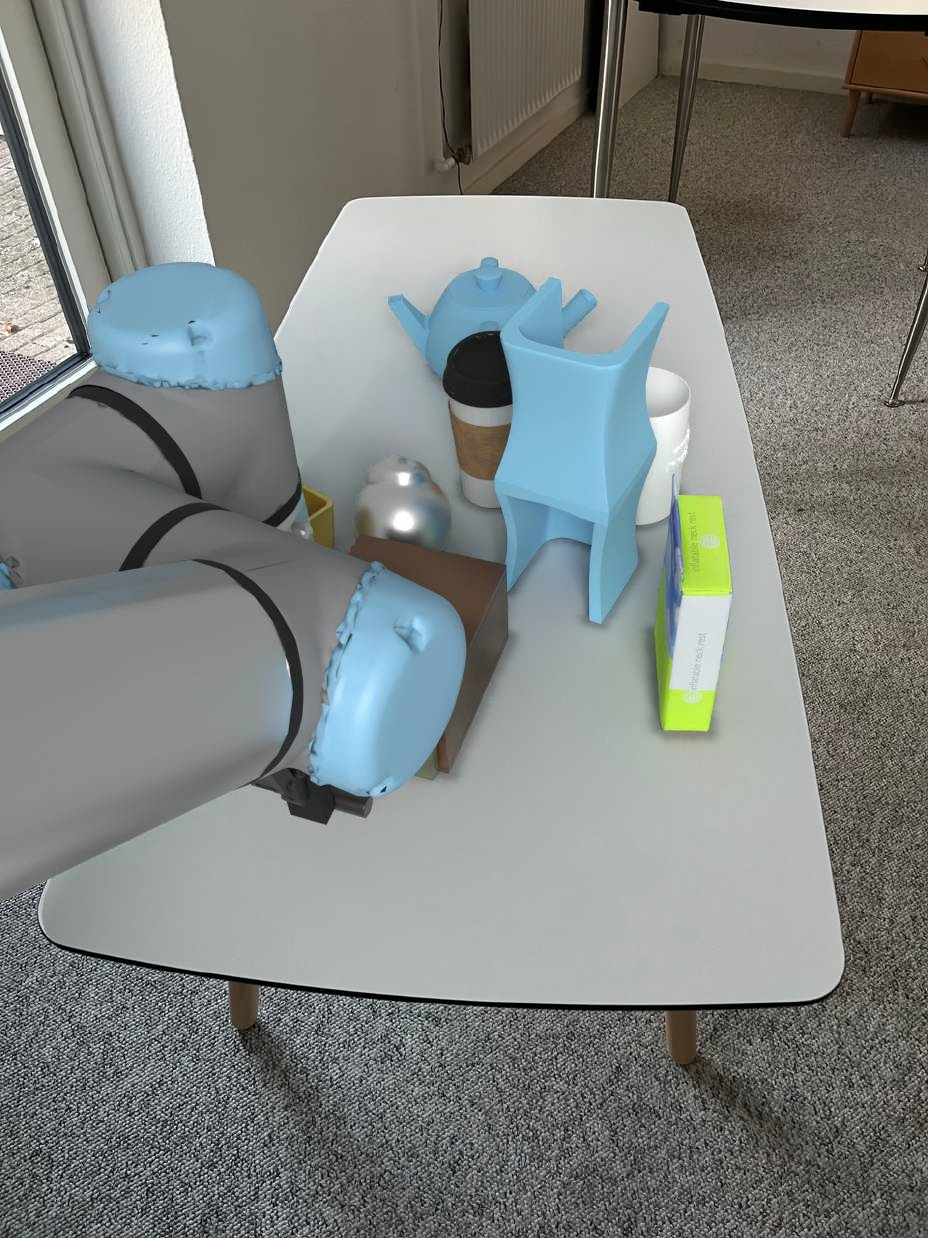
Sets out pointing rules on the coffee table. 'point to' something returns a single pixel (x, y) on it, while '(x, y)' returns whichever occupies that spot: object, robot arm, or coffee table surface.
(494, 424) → the coffee cup
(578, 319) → the teapot
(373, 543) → the cabinet
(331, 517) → the flower pot
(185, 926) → the coffee table surface
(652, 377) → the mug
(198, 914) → the coffee table surface
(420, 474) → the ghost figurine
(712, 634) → the box
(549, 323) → the blue doll chair
